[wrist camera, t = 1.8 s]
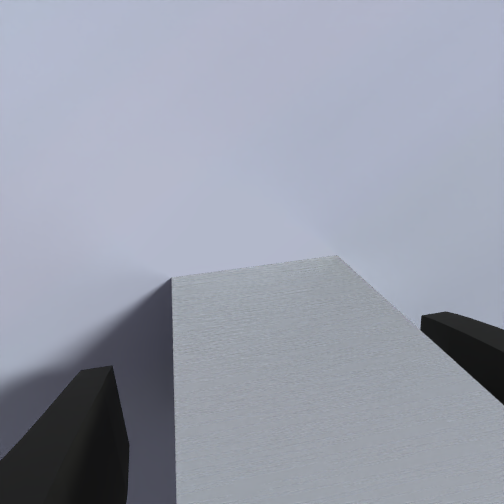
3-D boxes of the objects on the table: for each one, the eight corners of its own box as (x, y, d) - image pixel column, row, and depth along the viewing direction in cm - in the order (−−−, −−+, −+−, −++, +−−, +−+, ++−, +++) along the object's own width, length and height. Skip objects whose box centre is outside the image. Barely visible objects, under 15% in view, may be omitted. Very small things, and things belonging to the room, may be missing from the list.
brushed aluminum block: (337, 255, 10) (617, 508, 4) (337, 390, 12) (545, 744, 5) (171, 277, 10) (178, 617, 3) (192, 417, 11) (225, 852, 5)
